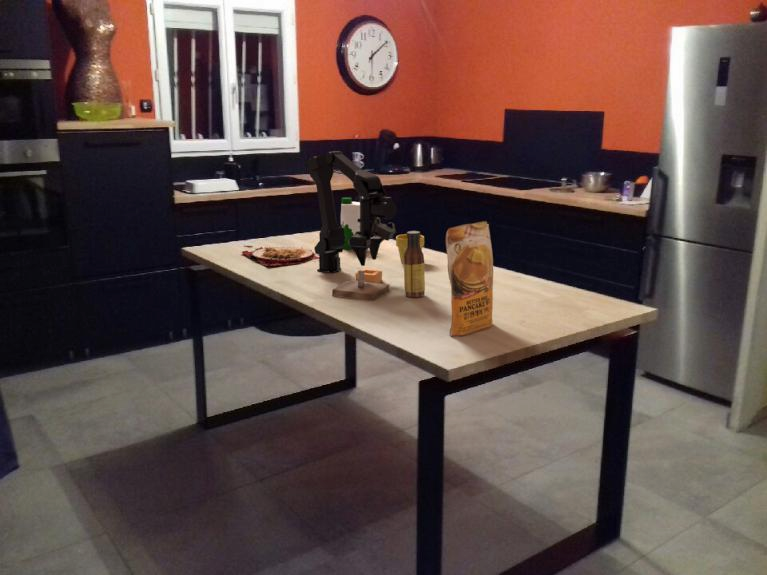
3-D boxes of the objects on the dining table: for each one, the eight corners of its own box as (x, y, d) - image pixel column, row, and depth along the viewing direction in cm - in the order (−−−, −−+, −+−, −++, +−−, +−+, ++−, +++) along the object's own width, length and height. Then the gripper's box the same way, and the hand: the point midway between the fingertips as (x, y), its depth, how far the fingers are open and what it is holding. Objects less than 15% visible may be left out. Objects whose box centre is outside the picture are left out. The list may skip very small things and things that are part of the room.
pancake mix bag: (434, 333, 181) (436, 226, 173) (483, 318, 193) (487, 218, 185) (453, 340, 176) (456, 230, 168) (502, 324, 188) (507, 222, 180)
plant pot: (390, 261, 258) (390, 235, 255) (414, 258, 263) (414, 232, 260) (405, 267, 249) (405, 240, 247) (429, 264, 254) (429, 237, 252)
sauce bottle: (427, 293, 216) (428, 230, 211) (421, 299, 211) (422, 234, 205) (406, 291, 218) (407, 229, 213) (400, 297, 213) (401, 233, 207)
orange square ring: (355, 283, 228) (355, 273, 227) (363, 278, 234) (363, 268, 233) (374, 285, 225) (374, 275, 224) (381, 280, 231) (382, 270, 230)
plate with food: (268, 270, 247) (268, 261, 246) (240, 254, 268) (240, 245, 267) (329, 263, 260) (329, 253, 259) (298, 248, 281) (298, 239, 280)
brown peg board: (332, 295, 214) (332, 273, 212) (348, 286, 225) (348, 264, 223) (374, 300, 209) (374, 278, 207) (389, 290, 220) (389, 269, 218)
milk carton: (342, 245, 285) (341, 196, 279) (364, 245, 284) (364, 196, 279) (340, 250, 276) (339, 199, 271) (363, 250, 276) (363, 199, 271)
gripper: (380, 221, 212) (380, 271, 217) (402, 212, 229) (401, 258, 233) (347, 219, 216) (348, 268, 221) (371, 210, 233) (371, 255, 237)
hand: (368, 262), depth 228 cm, fingers open, 9 cm apart
